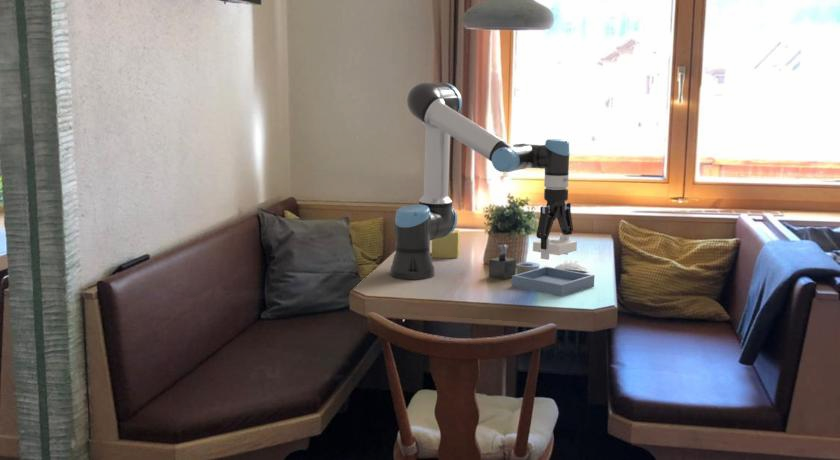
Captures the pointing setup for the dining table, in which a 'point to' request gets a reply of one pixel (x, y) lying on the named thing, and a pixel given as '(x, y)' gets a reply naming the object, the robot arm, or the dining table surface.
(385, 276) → the dining table surface
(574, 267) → the pincushion
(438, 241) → the cheese
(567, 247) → the ring
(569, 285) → the tray
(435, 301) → the dining table surface
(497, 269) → the grey block with post
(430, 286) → the dining table surface
